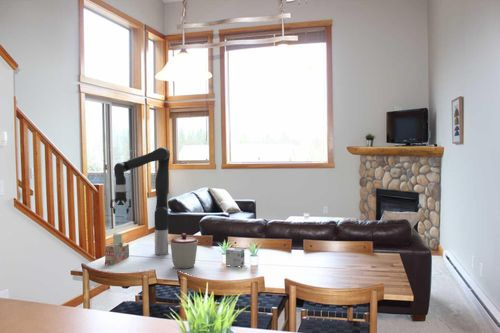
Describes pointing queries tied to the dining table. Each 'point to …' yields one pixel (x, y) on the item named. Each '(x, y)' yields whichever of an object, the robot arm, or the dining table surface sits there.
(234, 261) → the light bulb box
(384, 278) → the dining table surface
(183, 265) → the canister
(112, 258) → the stack of blocks
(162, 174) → the robot arm
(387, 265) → the dining table surface
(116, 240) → the sage block
